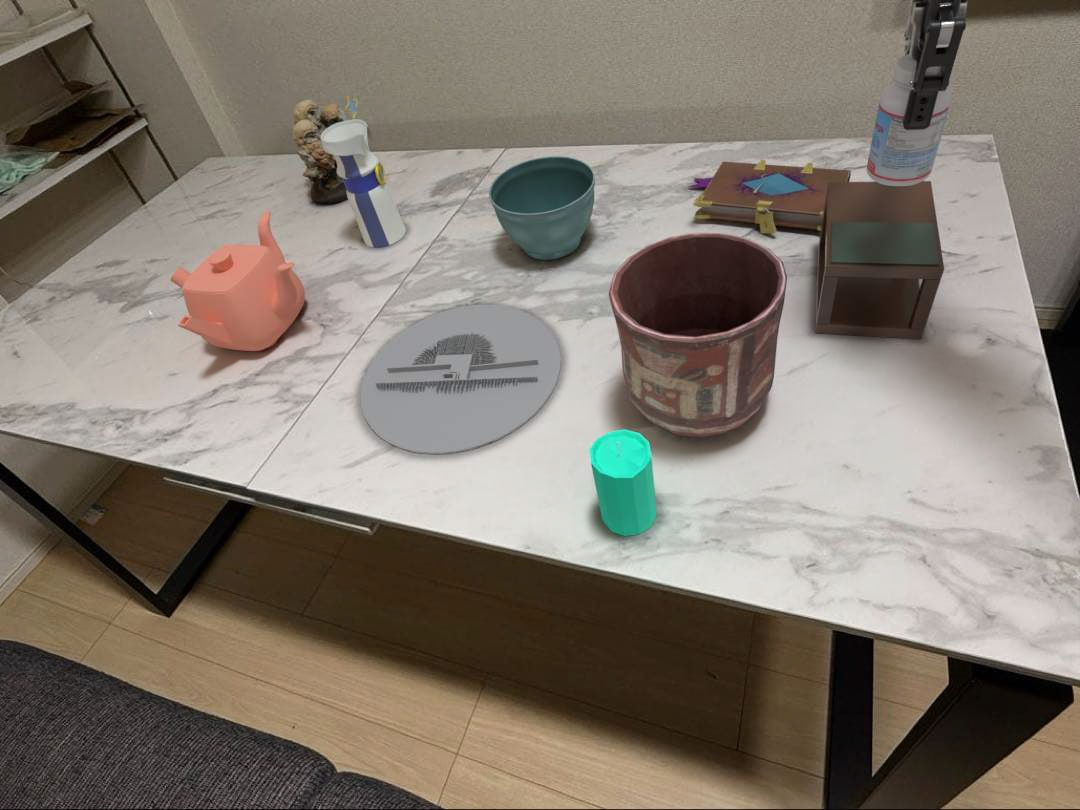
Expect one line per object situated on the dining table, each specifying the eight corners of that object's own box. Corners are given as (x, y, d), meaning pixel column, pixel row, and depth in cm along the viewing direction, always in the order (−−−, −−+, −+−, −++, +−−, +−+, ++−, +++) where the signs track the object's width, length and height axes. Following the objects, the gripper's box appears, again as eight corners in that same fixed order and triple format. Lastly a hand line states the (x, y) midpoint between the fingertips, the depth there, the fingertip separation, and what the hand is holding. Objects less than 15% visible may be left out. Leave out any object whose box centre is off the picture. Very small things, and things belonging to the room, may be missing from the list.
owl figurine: (350, 208, 128) (312, 122, 115) (298, 209, 131) (256, 125, 119) (386, 160, 139) (355, 76, 127) (338, 162, 143) (303, 81, 130)
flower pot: (618, 221, 109) (611, 159, 101) (576, 282, 100) (565, 219, 92) (532, 210, 116) (520, 152, 108) (486, 266, 107) (469, 206, 99)
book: (697, 177, 115) (697, 149, 111) (851, 189, 105) (856, 159, 101) (665, 226, 105) (664, 197, 102) (830, 245, 95) (836, 213, 92)
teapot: (304, 275, 115) (266, 205, 105) (331, 331, 103) (291, 257, 93) (202, 320, 111) (152, 251, 101) (217, 384, 99) (163, 313, 89)
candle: (596, 532, 71) (581, 465, 62) (605, 486, 74) (593, 416, 66) (653, 539, 69) (646, 470, 60) (660, 491, 73) (654, 420, 64)
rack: (911, 250, 91) (931, 179, 84) (921, 339, 80) (945, 267, 73) (818, 248, 95) (828, 180, 87) (815, 333, 84) (826, 264, 76)
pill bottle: (873, 155, 72) (894, 46, 64) (935, 161, 69) (966, 48, 61) (859, 185, 69) (879, 74, 61) (924, 192, 66) (955, 77, 58)
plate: (333, 454, 85) (329, 448, 84) (393, 310, 103) (391, 304, 102) (546, 454, 79) (544, 448, 78) (571, 301, 97) (570, 295, 96)
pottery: (629, 349, 88) (617, 234, 75) (769, 347, 84) (781, 225, 71) (617, 456, 77) (600, 342, 64) (778, 460, 73) (795, 339, 60)
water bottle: (411, 217, 121) (360, 77, 103) (404, 244, 116) (349, 101, 98) (368, 224, 123) (311, 86, 104) (359, 251, 117) (296, 111, 99)
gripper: (1034, -79, 47) (965, 147, 59) (1003, -130, 56) (948, 76, 68) (914, -65, 49) (872, 150, 61) (902, -116, 58) (867, 80, 70)
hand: (912, 110), depth 64 cm, fingers closed on pill bottle, 6 cm apart
